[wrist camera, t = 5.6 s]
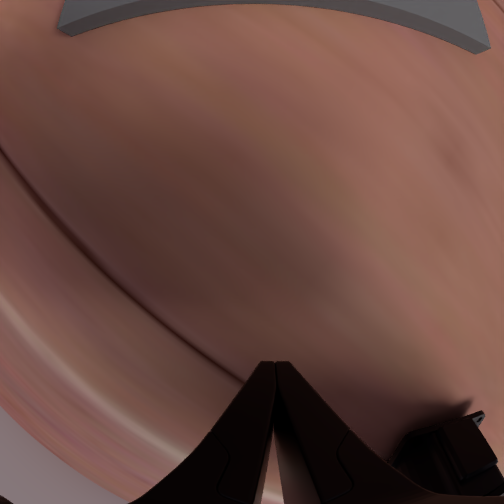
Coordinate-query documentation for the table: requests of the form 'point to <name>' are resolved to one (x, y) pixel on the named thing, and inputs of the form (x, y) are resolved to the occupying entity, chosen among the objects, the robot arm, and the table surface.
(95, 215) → the table surface
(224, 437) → the robot arm
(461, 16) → the mat
